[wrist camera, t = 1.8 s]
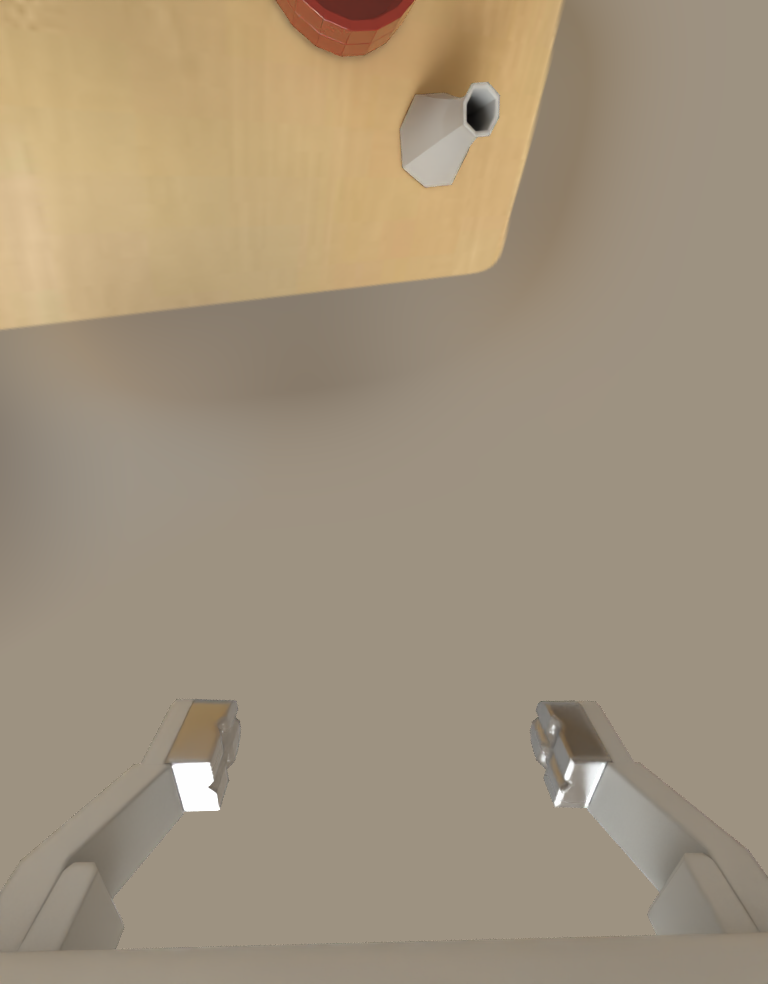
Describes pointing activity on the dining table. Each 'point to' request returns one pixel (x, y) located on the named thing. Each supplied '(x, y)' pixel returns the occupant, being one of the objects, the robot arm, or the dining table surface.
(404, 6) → the bowl
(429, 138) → the flask
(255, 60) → the dining table surface
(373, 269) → the dining table surface
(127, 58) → the dining table surface
